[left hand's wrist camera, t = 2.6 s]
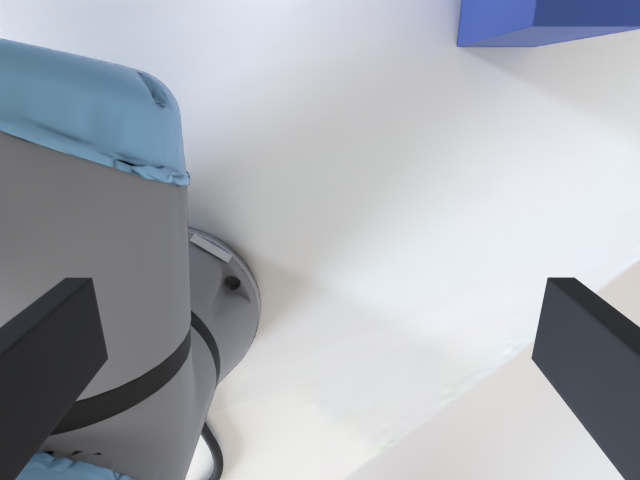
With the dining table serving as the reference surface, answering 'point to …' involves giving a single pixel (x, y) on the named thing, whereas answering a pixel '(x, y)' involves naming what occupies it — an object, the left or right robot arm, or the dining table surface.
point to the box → (542, 21)
